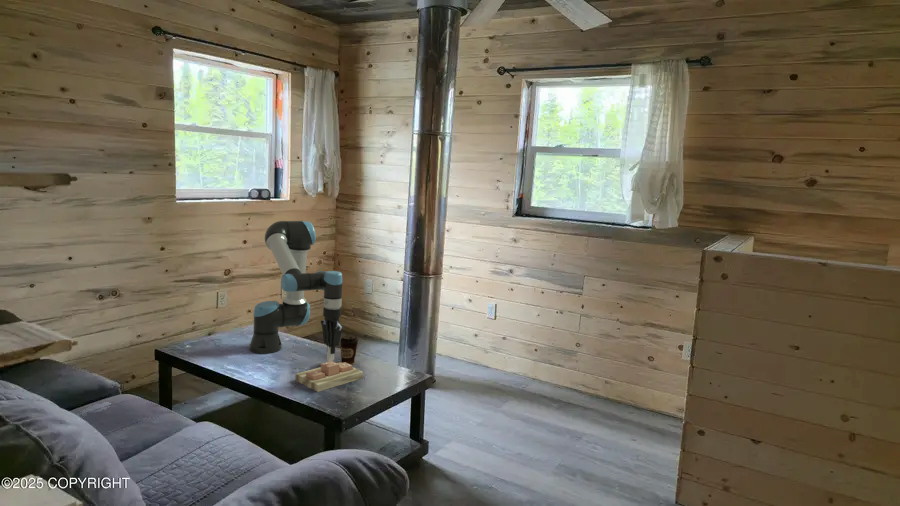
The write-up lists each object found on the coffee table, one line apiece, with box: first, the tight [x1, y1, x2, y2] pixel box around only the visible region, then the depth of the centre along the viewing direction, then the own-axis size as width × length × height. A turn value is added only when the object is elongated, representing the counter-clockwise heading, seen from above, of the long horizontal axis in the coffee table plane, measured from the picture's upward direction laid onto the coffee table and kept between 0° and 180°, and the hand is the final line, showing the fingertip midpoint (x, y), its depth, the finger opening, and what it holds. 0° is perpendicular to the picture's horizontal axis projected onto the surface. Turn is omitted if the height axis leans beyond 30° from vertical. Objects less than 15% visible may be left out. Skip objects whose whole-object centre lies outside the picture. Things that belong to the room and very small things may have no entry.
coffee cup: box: [339, 334, 359, 366], centre depth 262 cm, size 9×8×13 cm
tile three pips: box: [339, 362, 354, 373], centre depth 247 cm, size 6×6×5 cm
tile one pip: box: [306, 370, 325, 381], centre depth 236 cm, size 6×6×5 cm
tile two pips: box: [320, 360, 339, 377], centre depth 241 cm, size 6×6×5 cm
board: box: [294, 361, 364, 393], centre depth 242 cm, size 16×24×3 cm, turn 139°
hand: (330, 360), depth 240 cm, fingers closed
